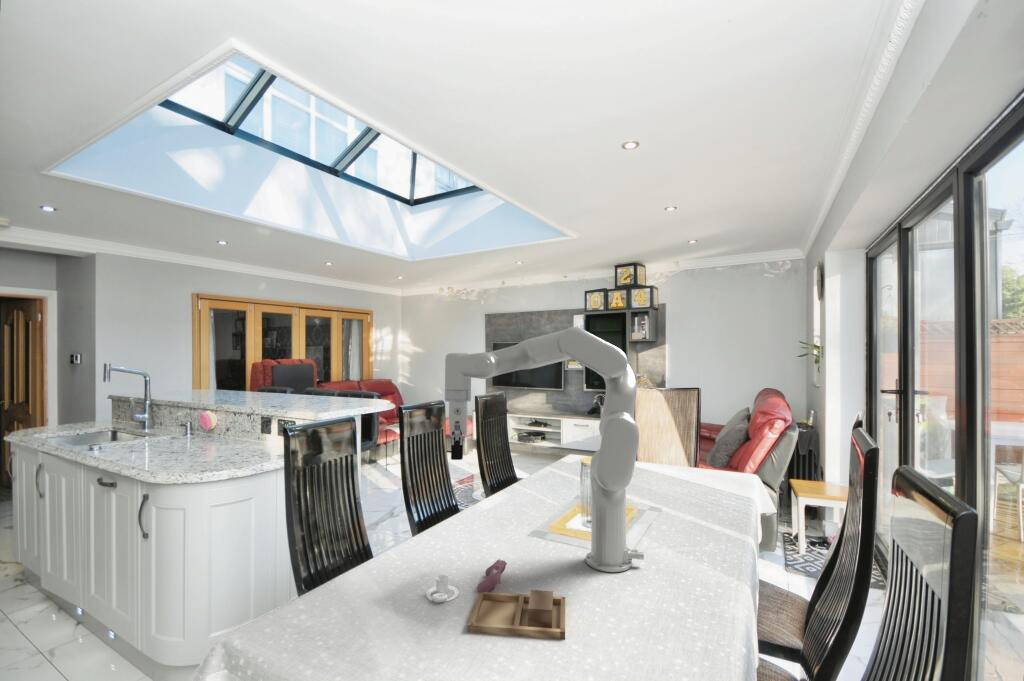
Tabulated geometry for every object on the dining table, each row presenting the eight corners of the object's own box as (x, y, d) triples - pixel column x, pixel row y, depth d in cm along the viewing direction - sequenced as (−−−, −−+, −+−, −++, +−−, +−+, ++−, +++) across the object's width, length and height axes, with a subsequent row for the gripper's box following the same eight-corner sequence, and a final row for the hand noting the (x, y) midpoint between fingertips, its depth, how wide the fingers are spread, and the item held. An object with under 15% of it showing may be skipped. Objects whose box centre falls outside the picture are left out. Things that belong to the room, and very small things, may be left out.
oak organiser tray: (565, 604, 108) (565, 596, 108) (565, 641, 94) (565, 632, 94) (479, 599, 110) (480, 591, 110) (467, 633, 96) (467, 625, 96)
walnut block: (552, 609, 105) (553, 591, 105) (551, 629, 97) (551, 610, 98) (530, 607, 106) (530, 589, 106) (527, 627, 98) (528, 608, 98)
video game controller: (490, 602, 112) (504, 577, 111) (474, 591, 113) (487, 566, 112) (499, 582, 122) (512, 559, 121) (484, 572, 122) (497, 550, 122)
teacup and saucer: (442, 609, 107) (442, 590, 107) (416, 599, 111) (416, 581, 111) (465, 592, 114) (466, 575, 114) (440, 584, 118) (441, 567, 119)
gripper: (471, 398, 126) (470, 462, 126) (470, 393, 143) (469, 449, 143) (443, 398, 125) (442, 462, 125) (445, 393, 143) (444, 450, 142)
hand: (456, 455), depth 134 cm, fingers open, 9 cm apart
